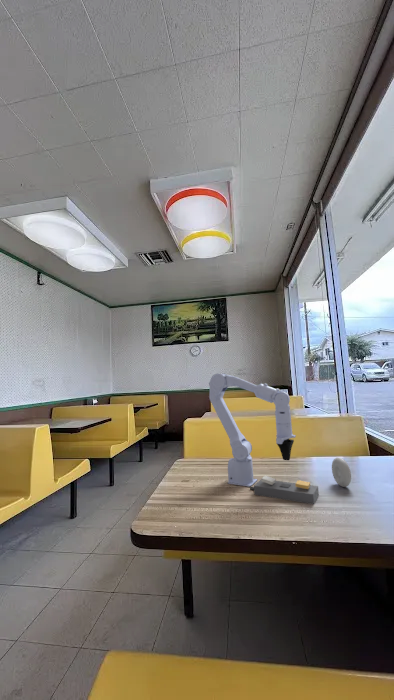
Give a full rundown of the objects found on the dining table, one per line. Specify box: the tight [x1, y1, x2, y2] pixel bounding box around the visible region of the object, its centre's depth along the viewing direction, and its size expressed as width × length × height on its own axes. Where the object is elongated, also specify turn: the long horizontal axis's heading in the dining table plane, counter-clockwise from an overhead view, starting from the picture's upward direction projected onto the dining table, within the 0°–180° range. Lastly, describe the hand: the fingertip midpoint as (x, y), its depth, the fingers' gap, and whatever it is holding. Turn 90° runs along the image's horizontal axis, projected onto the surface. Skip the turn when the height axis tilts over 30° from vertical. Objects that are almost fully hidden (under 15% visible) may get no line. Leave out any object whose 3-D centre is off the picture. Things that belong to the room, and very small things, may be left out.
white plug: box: [260, 475, 277, 485], centre depth 107 cm, size 4×4×1 cm
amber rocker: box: [295, 479, 311, 489], centre depth 101 cm, size 4×4×1 cm
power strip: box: [249, 479, 320, 505], centre depth 105 cm, size 23×8×3 cm, turn 58°
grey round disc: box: [331, 457, 352, 488], centre depth 109 cm, size 10×4×10 cm, turn 2°
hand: (286, 459), depth 114 cm, fingers closed
